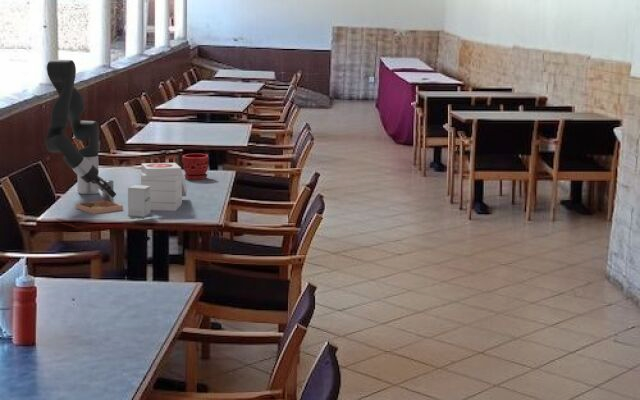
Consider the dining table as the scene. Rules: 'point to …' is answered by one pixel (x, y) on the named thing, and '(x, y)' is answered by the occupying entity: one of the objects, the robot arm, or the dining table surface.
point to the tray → (105, 207)
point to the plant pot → (195, 166)
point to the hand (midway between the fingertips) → (111, 194)
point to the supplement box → (139, 200)
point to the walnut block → (88, 204)
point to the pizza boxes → (164, 185)
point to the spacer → (105, 194)
